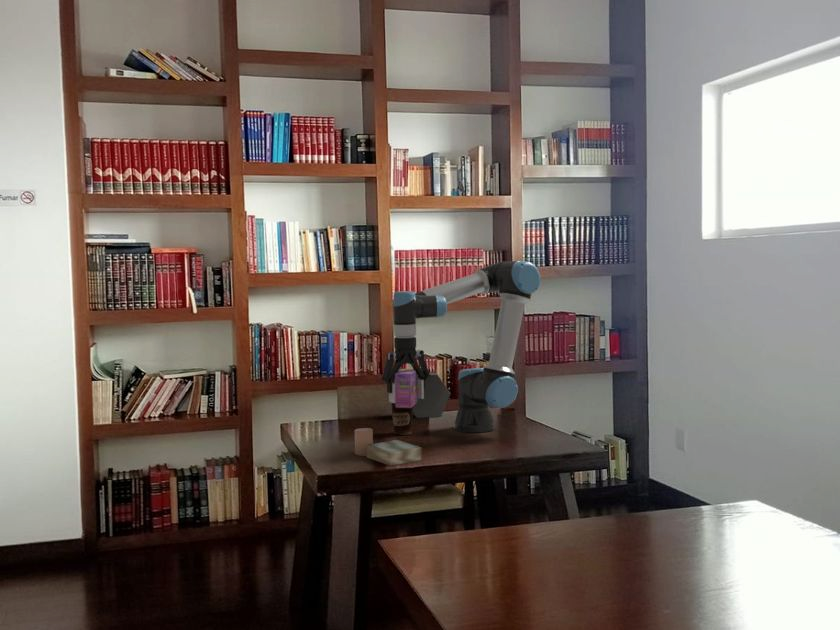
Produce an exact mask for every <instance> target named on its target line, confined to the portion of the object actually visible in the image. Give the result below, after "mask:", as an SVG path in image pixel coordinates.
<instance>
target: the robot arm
mask: <svg viewBox="0 0 840 630" xmlns="http://www.w3.org/2000/svg"><path fill="white" fill-rule="evenodd" d="M540 284H541V274H540V271H539V270H538V268H537V266H536V265H534V263H533V262H530V261H524V260H513V261H512V260H511V261H509V260H508V261H505V260H504V261H498V262H495V263H492V264H491V265H487V266H484V267H483V268H479V269H476V270H475V271H474V273H472V274H469V275H466V276H463V277H460V278H457V279H454V280H452V281H448V282H444V283H441V284H438V285H436V286H432V287H430V288H426V289H424V290H421V291H417V292H415V291H412V290H407V291H406V290H405V291H402V290H401V291H395V292H394V293H393V297H392V307H393V309H392V310H393V312H392V313H393V336H394V338H393V342H394V344H393V346H394V347H393V348H394V352H393V353H390V352H386V362H385V365H384V370H383V372H382V377H381V382H383V383H385V384H386V392H387V394H388V402H389V403H391V404H392V403H395V373H398V371H400V370H401V367H403V365H407V364H409V365H411V367H412V369H414V370H416V372H417V375H418V377H419V378H420V379H417V394H418V398H420V399H424V388H425V380H426V379H427V377H430V374H429V372H430V370H429V368H428V365H427V363H426V362H427V361H426V359H425V352H424V350H422V349H416V348H417V337H416V335H417V325H416V324H417V319H422V318H423V319H425V318H427V319H428V318H442V317H444V316H445V315H446V313H447V312H448V304H451V303H454V302H457V301H460V300H463V299H467V298H469V297H472V296H475V295H478V294H481V295H488V294H490V293H498V295H499V297H500V299H501V301H500V302H501V304H500V309H499V313H498V318H497V323H496V325H495V326H496V328H495V332H494V337H493V342H492V346H491V351H490V355H489V356H490V357H489V360H488V363H487V364H486V365H484V366H483V367H476V368H475V367H474V368H466V369H465V368H463V369H460V370H459V372H458V375H457V377H458V378H457V381H458V411H457V413H456V416H455V417H456V418H455V421H454V425H453V427H454V430H456V431H459V432H463V433H485V432H491V431H493V430H494V429H495V421H494V419H493V415H492V412H491V409H490V407H491V408H496V409H497V408H499V409H502V408H503V409H505V408H507V407H509V406H510V405H512V404H513V403H514V401H515V400H516V398H517V396H518V393H519V387H518V384H517V382H516V380H515V376H516V373H515V371H514V369H513V363H514V361H515V360H514V359H515V356H516V355H515V353H516V350H517V344H518V340H519V336H520V335H519V334H520V331H521V325H522V320H523V315H524V311H525V307H526V306H525V305H526V304H527V303H528V302H530V301H531V297H532V294H534V293H535V292H536V291H537V290H538V289H539V287H540ZM416 357H417V359H416ZM394 360H395V361H394Z"/></svg>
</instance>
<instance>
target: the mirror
mask: <svg viewBox="0 0 840 630" xmlns="http://www.w3.org/2000/svg"><path fill="white" fill-rule="evenodd" d="M366 458H368V459H371V460H374V461H377V462H380V463H382V464H385V465H386V466H396V465H401V464H407V463H411V462H416V461H422V446H421V447H420V446H419V445H415V444H411V443H409V442H406V441H401V440H400V439H399V440H398V439H393V440H389V441H381V442H375V443H373V444H369V445H367V456H366Z"/></svg>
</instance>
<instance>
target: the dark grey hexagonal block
mask: <svg viewBox="0 0 840 630" xmlns="http://www.w3.org/2000/svg"><path fill="white" fill-rule="evenodd" d="M429 374H430V377H427V379H426V380H425V388H424V399H420V398H418V394H417V400H418V402H417V403H416V404H415V405H414V406H413V414H412V416H414V417H415V418H416V419H421V418H422V419H423V418H424V419H425V418H439V417H440V418H441V417H442V416H443V414H444V410H445V408H446V407H447V403H448V401H449V399H450V396H451V392H450V391H449V389H448V388H447V386H446V385H445V384H444V382H443V380H442V379H441V378H440V376H439V374H437V373H436V372H432V371H431V372H430V371H429ZM417 379H420V378H419V377H418V375H417Z"/></svg>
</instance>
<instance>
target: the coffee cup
mask: <svg viewBox="0 0 840 630" xmlns="http://www.w3.org/2000/svg"><path fill="white" fill-rule="evenodd" d="M390 406H391V413H392V414H391V416H392V424H393V430H394V431H393V433H394V434H395V435H401V436H402V435H410V434H412V422H413V418H414V417H413V416H414V415H413V407H412V408H396V405H395V403H391V405H390Z"/></svg>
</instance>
